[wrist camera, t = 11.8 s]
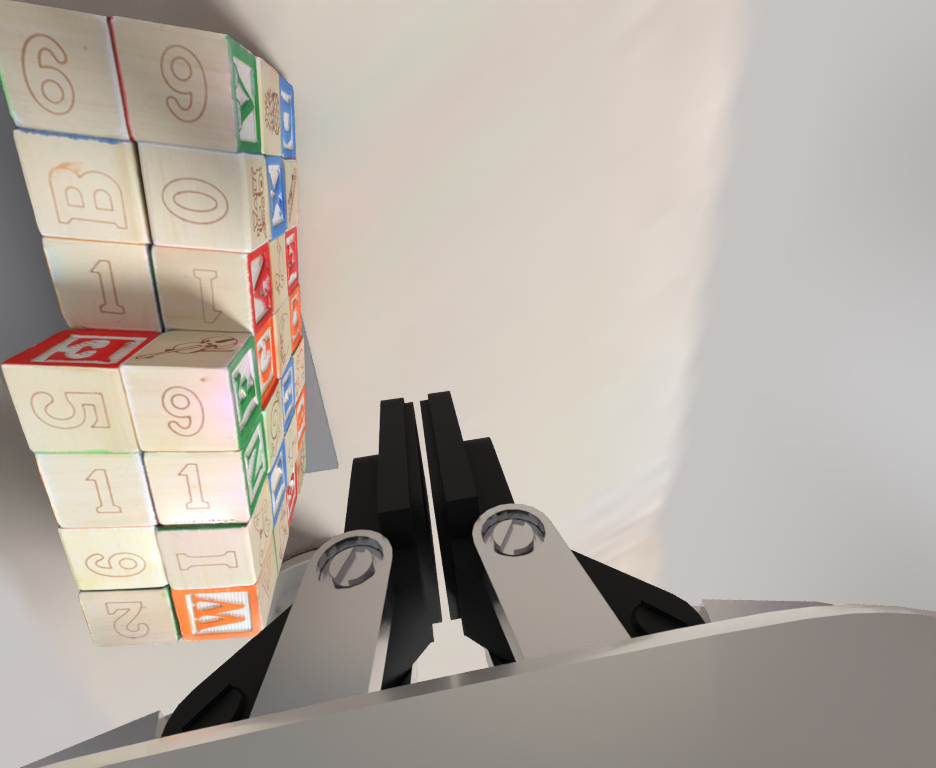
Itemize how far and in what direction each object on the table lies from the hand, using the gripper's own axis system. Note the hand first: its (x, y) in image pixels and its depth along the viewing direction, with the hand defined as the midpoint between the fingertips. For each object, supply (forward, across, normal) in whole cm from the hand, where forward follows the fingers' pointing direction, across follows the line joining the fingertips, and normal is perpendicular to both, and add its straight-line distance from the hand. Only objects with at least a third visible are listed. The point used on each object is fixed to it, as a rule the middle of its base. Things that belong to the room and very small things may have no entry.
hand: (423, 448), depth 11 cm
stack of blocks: (+17, +9, 0) cm, 19 cm away
